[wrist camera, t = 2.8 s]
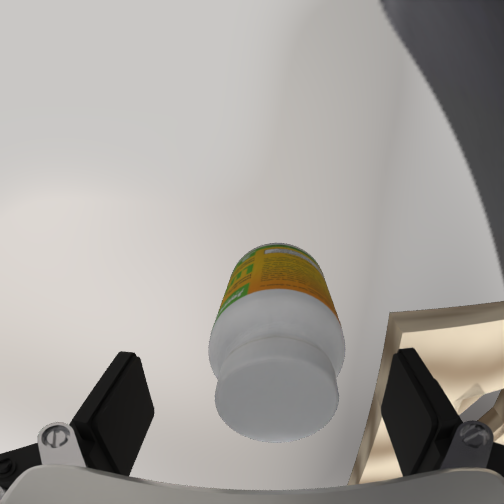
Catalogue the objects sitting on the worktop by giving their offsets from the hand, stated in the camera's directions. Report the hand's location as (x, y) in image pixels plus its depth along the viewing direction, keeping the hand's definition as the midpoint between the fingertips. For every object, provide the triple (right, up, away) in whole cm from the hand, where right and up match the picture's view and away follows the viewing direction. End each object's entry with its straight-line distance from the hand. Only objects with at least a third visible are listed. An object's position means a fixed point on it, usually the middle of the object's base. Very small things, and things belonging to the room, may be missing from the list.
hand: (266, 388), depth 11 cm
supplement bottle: (+1, +3, +8) cm, 9 cm away
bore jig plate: (+18, -8, +10) cm, 22 cm away
